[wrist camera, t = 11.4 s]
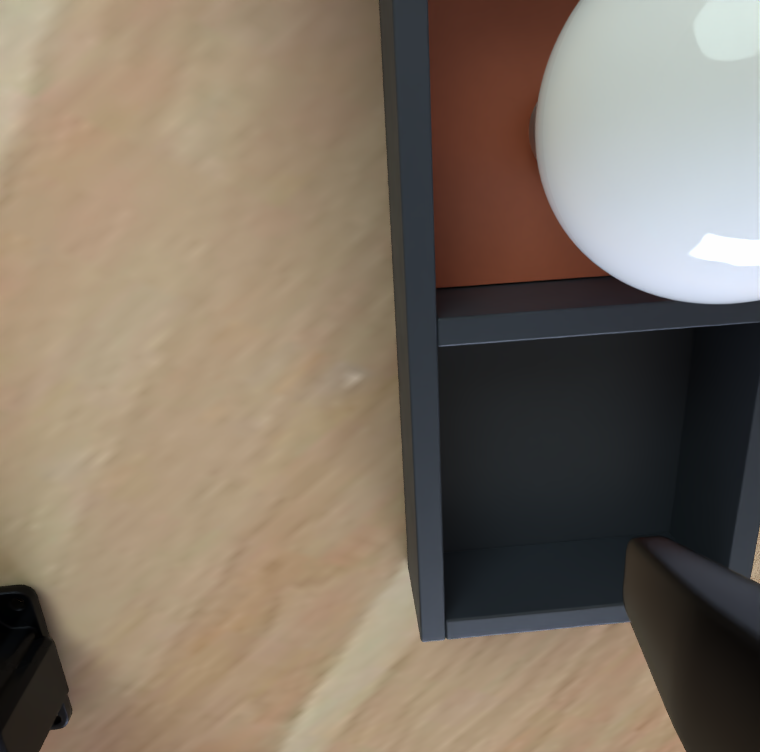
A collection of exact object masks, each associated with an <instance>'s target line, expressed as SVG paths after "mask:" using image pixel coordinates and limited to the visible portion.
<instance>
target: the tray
mask: <svg viewBox="0 0 760 752" xmlns="http://www.w3.org/2000/svg"><path fill="white" fill-rule="evenodd" d="M578 1H579V0H379V11H380V31H381V50H382V69H383V89H384V108H385V128H386V147H387V166H388V186H389V205H390V224H391V244H392V263H393V283H394V302H395V321H396V341H397V360H398V379H399V399H400V418H401V438H402V457H403V476H404V496H405V515H406V535H407V554H408V569H409V574H410V580H411V586H412V592H413V598H414V603H415V609H416V615H417V621H418V627H419V632H420V638H421V641H422V642H428V641H438V640H445V637H446V638H447V639H458V638H468V637H479V636H489V635H499V634H510V633H520V632H531V631H541V630H551V629H562V628H572V627H582V626H593V625H603V624H613V623H624V622H630V620H629V618H628V616H627V613H626V610H625V607H624V603H623V597H622V587H623V576H624V566H625V555H626V547H627V544H628V542H629V541H630V540H631V539H632V538H634V537H645V536H655V535H661V536H665V537H667V538H669V539H671V540H673V541H675V542H677V543H679V544H681V545H683V546H685V547H687V548H689V549H691V550H693V551H695V552H697V553H699V554H701V555H703V556H705V557H707V558H709V559H711V560H713V561H715V562H717V563H719V564H721V565H723V566H725V567H727V568H729V569H731V570H733V571H735V572H737V573H739V574H741V575H743V576H745V577H747V578H749V579H750V577H751V572H752V566H753V561H754V555H755V549H756V544H757V538H758V533H759V527H760V300H759V301H753V302H746V303H737V304H697V303H688V302H681V301H676V300H671V299H666V298H662V297H659V296H656V295H652V294H649V293H646V292H644V291H641V290H638V289H636V288H634V287H631V286H629V285H627V284H625V283H623V282H621V281H620V280H618V279H616V278H614V277H613V276H611V275H609V274H608V273H606V272H605V271H604V270H602V269H601V268H599V267H598V266H597V265H596V264H594V263H593V262H592V261H591V260H590V259H589V258H587V257H586V256H585V255H584V254H583V253H582V252H581V251H580V250H579V249H578V248H577V246H576V245H575V244H574V243H573V242H572V241H571V239H570V238H569V237H568V236H567V234H566V233H565V231H564V230H563V229H562V227H561V225H560V224H559V222H558V220H557V219H556V217H555V215H554V213H553V211H552V209H551V207H550V205H549V203H548V200H547V198H546V195H545V192H544V189H543V186H542V183H541V179H540V175H539V171H538V166H537V159H536V158H535V156H534V154H533V152H532V149H531V146H530V141H529V123H530V118H531V114H532V111H533V109H534V107H535V105H536V103H537V100H538V95H539V90H540V85H541V82H542V78H543V74H544V71H545V68H546V65H547V62H548V59H549V56H550V54H551V51H552V49H553V46H554V44H555V42H556V40H557V38H558V36H559V34H560V32H561V30H562V28H563V26H564V24H565V22H566V21H567V19H568V17H569V15H570V14H571V12H572V11H573V9H574V7H575V6H576V4H577V3H578Z"/></svg>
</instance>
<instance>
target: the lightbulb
mask: <svg viewBox="0 0 760 752" xmlns="http://www.w3.org/2000/svg"><path fill="white" fill-rule="evenodd" d="M529 141H530V146H531V149H532V152H533V154H534V156H535V158H536V159H537V166H538V171H539V175H540V179H541V183H542V186H543V189H544V192H545V195H546V198H547V200H548V203H549V205H550V207H551V209H552V211H553V213H554V215H555V217H556V219H557V220H558V222H559V224H560V225H561V227H562V229H563V230H564V231H565V233H566V234H567V236H568V237H569V238H570V239H571V241H572V242H573V243H574V244H575V245H576V246H577V248H578V249H579V250H580V251H581V252H582V253H583V254H584V255H585V256H586V257H587V258H589V259H590V260H591V261H592V262H593V263H594V264H596V265H597V266H598V267H599V268H601V269H602V270H604V271H605V272H606V273H608V274H609V275H611V276H613V277H614V278H616V279H618V280H620V281H621V282H623V283H625V284H627V285H629V286H631V287H634V288H636V289H638V290H641V291H644V292H646V293H649V294H652V295H656V296H659V297H662V298H666V299H671V300H676V301H681V302H688V303H697V304H737V303H746V302H753V301H759V300H760V0H579V1H578V3H577V4H576V6H575V7H574V9H573V11H572V12H571V14H570V15H569V17H568V19H567V21H566V22H565V24H564V26H563V28H562V30H561V32H560V34H559V36H558V38H557V40H556V42H555V44H554V46H553V49H552V51H551V54H550V56H549V59H548V62H547V65H546V68H545V71H544V74H543V78H542V82H541V85H540V90H539V95H538V100H537V103H536V105H535V107H534V109H533V111H532V114H531V118H530V123H529Z"/></svg>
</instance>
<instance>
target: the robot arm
mask: <svg viewBox="0 0 760 752" xmlns="http://www.w3.org/2000/svg"><path fill="white" fill-rule="evenodd" d="M622 597H623V603H624V607H625V610H626V613H627V616H628V618H629V620H630V623H631V625H632V628H633V630H634V633H635V635H636V637H637V640H638V642H639V645H640V647H641V650H642V652H643V654H644V657H645V659H646V662H647V664H648V667H649V669H650V671H651V674H652V676H653V679H654V681H655V684H656V686H657V688H658V691H659V693H660V696H661V698H662V701H663V703H664V705H665V708H666V710H667V712H668V715H669V717H670V719H671V722H672V724H673V726H674V728H675V730H676V732H677V734H678V736H679V738H680V740H681V742H682V744H683V746H684V748H685V750H686V752H760V584H759V583H757V582H755V581H753V580H751V579H749V578H747V577H745V576H743V575H741V574H739V573H737V572H735V571H733V570H731V569H729V568H727V567H725V566H723V565H721V564H719V563H717V562H715V561H713V560H711V559H709V558H707V557H705V556H703V555H701V554H699V553H697V552H695V551H693V550H691V549H689V548H687V547H685V546H683V545H681V544H679V543H677V542H675V541H673V540H671V539H669V538H667V537H665V536H661V535H655V536H645V537H634V538H632V539H631V540H630V541H629V542H628V544H627V547H626V555H625V566H624V576H623V587H622ZM17 598H20V599H22V600H23V601H24V602H21V601H19V600H17ZM68 691H69V689H68V686H67V682H66V679H65V676H64V672H63V669H62V666H61V662H60V659H59V656H58V653H57V649H56V646H55V643H54V641H53V640H52V638H51V637H50V636H49V632H48V629H47V626H46V623H45V619H44V616H43V613H42V610H41V606H40V603H39V600H38V596H37V594H36V592H35V591H34V590H33V589H32V588H31V587H28V586H26V585H11V586H0V752H39V751H40V749H41V747H42V745H43V743H44V741H45V739H46V737H47V735H48V733H49V730H55V729H60V728H63V727H65V726H66V725H67V723H68V721H69V719H70V717H71V715H72V708H71V704H70V701H69V698H68Z"/></svg>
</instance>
